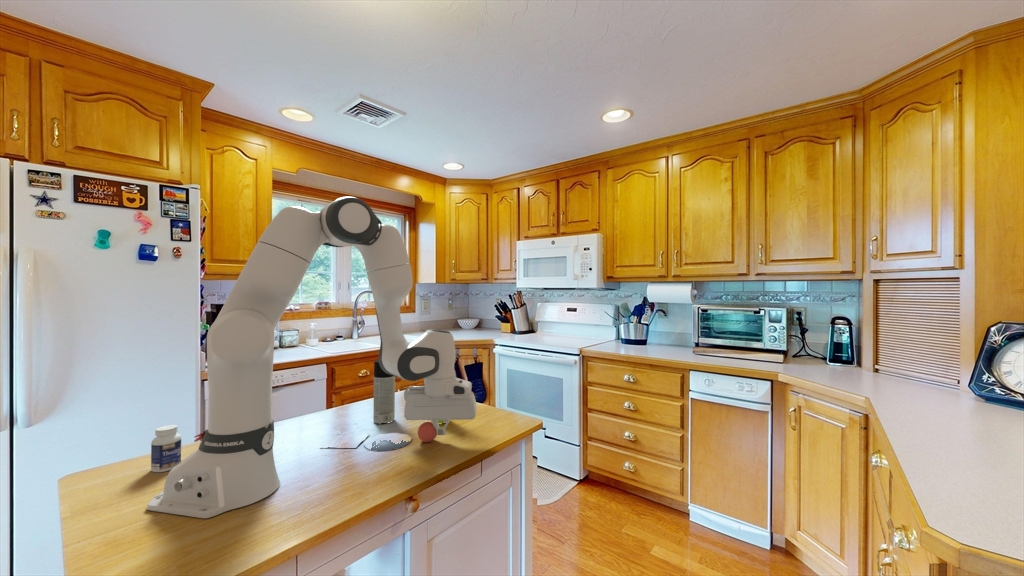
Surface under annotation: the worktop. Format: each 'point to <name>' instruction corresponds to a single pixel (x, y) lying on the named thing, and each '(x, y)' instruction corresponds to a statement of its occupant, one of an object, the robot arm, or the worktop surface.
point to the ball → (426, 432)
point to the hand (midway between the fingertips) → (441, 434)
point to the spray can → (383, 395)
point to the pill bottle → (165, 449)
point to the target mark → (387, 445)
